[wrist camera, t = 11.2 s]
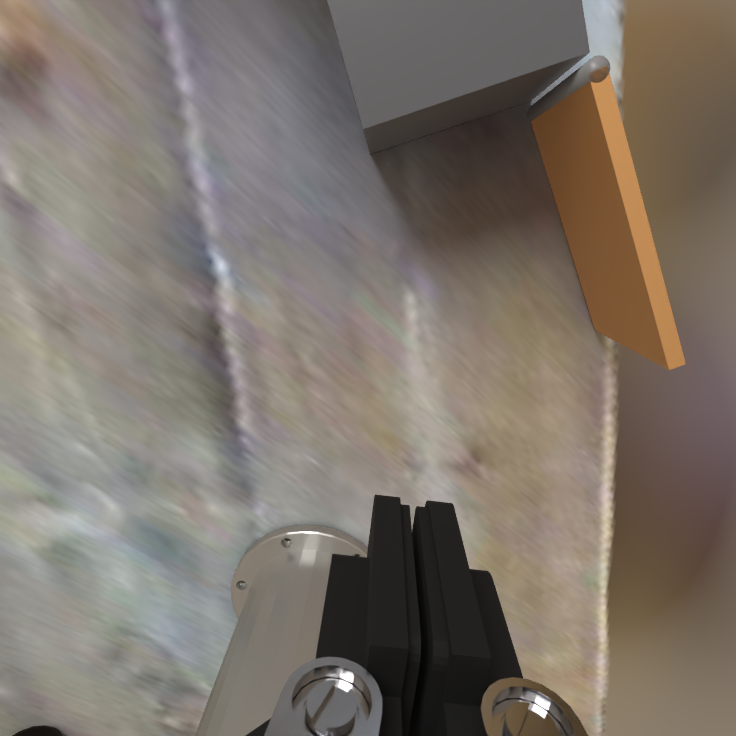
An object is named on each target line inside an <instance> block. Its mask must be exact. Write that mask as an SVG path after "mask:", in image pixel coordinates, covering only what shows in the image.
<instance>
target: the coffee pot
mask: <svg viewBox="0 0 736 736" xmlns="http://www.w3.org/2000/svg"><path fill="white" fill-rule="evenodd" d="M13 736H61V734H60V733H59V732H58V730H57V729H56V728H53V727H49V726H33V727H30V728H28V729H25V730H22V731H20V732H18V733H16V734H15V735H13Z"/></svg>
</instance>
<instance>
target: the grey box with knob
mask: <svg viewBox="0 0 736 736" xmlns="http://www.w3.org/2000/svg"><path fill="white" fill-rule="evenodd" d="M327 2H328V5H329V9H330V13H331V16H332V20H333V23H334V27H335V30H336V34H337V38H338V41H339V45H340V48H341V52H342V56H343V59H344V63H345V66H346V70H347V74H348V77H349V81H350V84H351V88H352V91H353V95H354V99H355V102H356V106H357V109H358V113H359V117H360V120H361V124H362V127H363V131H364V134H365V138H366V142H367V145H368V149H369V152H370V154H373V153H376V152H379V151H382V150H385V149H388V148H391V147H394V146H397V145H400V144H403V143H406V142H409V141H412V140H415V139H418V138H421V137H424V136H427V135H430V134H433V133H436V132H439V131H442V130H445V129H448V128H451V127H454V126H457V125H460V124H463V123H466V122H469V121H472V120H475V119H478V118H481V117H484V116H487V115H490V114H493V113H496V112H499V111H502V110H505V109H508V108H511V107H514V106H517V105H520V104H523V103H526V102H529V101H531V100H532V99H534V98H535V97H536V96H537V95H538V94H540V93H541V92H542V91H543V90H545V89H546V88H547V87H548V86H549V85H551V84H552V83H553V82H554V81H555V80H557V79H558V78H559V77H560V76H562V75H563V74H564V73H565V72H566V71H568V70H569V69H570V68H571V67H572V66H574V65H575V64H576V63H577V62H578V61H580V60H581V59H582V58H583V57H585V56H586V55H587V54H588V53H589V52H590V51H589V44H588V38H587V32H586V25H585V19H584V12H583V6H582V0H327Z"/></svg>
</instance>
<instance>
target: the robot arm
mask: <svg viewBox="0 0 736 736" xmlns="http://www.w3.org/2000/svg"><path fill="white" fill-rule="evenodd" d="M231 598H232V602H233V607H234V611H235V613H236V615H237V617H238V622H237V625H236V627H235V630H234V633H233V635H232V638H231V641H230V643H229V646H228V649H227V651H226V654H225V657H224V659H223V662H222V665H221V667H220V670H219V673H218V675H217V678H216V681H215V684H214V686H213V689H212V692H211V694H210V697H209V700H208V702H207V705H206V708H205V710H204V713H203V716H202V718H201V721H200V724H199V726H198V729H197V732H196V734H195V736H588V734H587V733H586V731H585V729H584V727H583V725H582V723H581V722H580V720H579V718H578V717H577V716H576V714H575V713H574V711H573V710H572V708H571V707H570V706H569V705H568V704H567V703H566V702H565V701H564V700H563V699H562V698H561V697H560V696H559V695H557V694H556V693H555V692H553V691H551V690H550V689H548V688H547V687H545V686H544V685H542V684H539V683H536V682H534V681H531V680H528V679H523V676H522V673H521V669H520V666H519V663H518V660H517V656H516V653H515V650H514V647H513V643H512V640H511V637H510V634H509V631H508V627H507V624H506V621H505V618H504V614H503V611H502V608H501V605H500V601H499V598H498V595H497V592H496V588H495V585H494V582H493V579H492V576H491V574H490V573H489V572H488V571H482V570H473V569H469V565H468V561H467V557H466V553H465V549H464V545H463V541H462V537H461V533H460V529H459V525H458V521H457V517H456V513H455V509H454V506H453V504H452V503H444V502H435V501H427V502H426V504H425V507H419V506H417V507H416V510H415V516H414V523H413V530H412V529H411V518H410V507H409V505H401V504H400V497H391V496H382V495H375V497H374V504H373V512H372V520H371V528H370V536H369V544H368V548H367V547H366V546H365V545H363V544H362V543H361V542H359V541H358V540H357V539H355V538H353V537H351V536H349V535H347V534H345V533H343V532H341V531H338V530H335V529H332V528H328V527H323V526H316V525H296V526H291V527H286V528H281V529H279V530H276V531H273V532H271V533H268V534H267V535H265V536H264V537H262V538H260V539H259V540H257V541H256V542H255V543H254V544H253V545H252V546H251V547H250V548H249V549H248V550H247V551H246V552H245V554H244V555H243V557H242V558H241V560H240V562H239V564H238V567H237V569H236V571H235V573H234V577H233V581H232V595H231Z"/></svg>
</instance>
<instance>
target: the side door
mask: <svg viewBox="0 0 736 736" xmlns="http://www.w3.org/2000/svg"><path fill="white" fill-rule="evenodd" d="M609 71H610V64H609V61H608V60H607V58H605V57H604V56H595V57H593V58H592V59H590V60H589V61H588V62H586V63H585V64H584V65H583V66H581V67H580V68H579V69H578V70H576V71H575V72H574V73H572V74H571V75H570V76H569V77H567V78H566V79H565V80H564V81H562V82H561V83H560V84H559V85H557V86H556V87H555V88H553V89H552V90H551V91H550V92H548V93H547V94H546V95H545V96H543V97H542V98H541V99H539V100H538V101H537V102H536V103H534V104H533V105H532V106H531V107H530V108H529V109H528V112H527V117H528V119H529V120H530V121H531V124H532V127H533V130H534V134H535V137H536V140H537V143H538V147H539V150H540V153H541V156H542V160H543V163H544V166H545V169H546V173H547V176H548V179H549V182H550V186H551V189H552V192H553V195H554V198H555V202H556V205H557V208H558V211H559V215H560V218H561V221H562V224H563V228H564V231H565V234H566V237H567V241H568V244H569V247H570V250H571V254H572V257H573V260H574V263H575V267H576V270H577V273H578V276H579V280H580V283H581V286H582V289H583V293H584V296H585V299H586V302H587V306H588V309H589V312H590V315H591V319H592V322H593V325H594V328H595V330H596V331H598V332H599V333H601V334H603V335H605V336H607V337H609V338H611V339H612V340H614V341H616V342H618V343H620V344H622V345H624V346H625V347H627V348H629V349H631V350H633V351H635V352H637V353H638V354H640V355H642V356H644V357H646V358H648V359H650V360H651V361H653V362H655V363H657V364H659V365H661V366H663V367H665V368H666V369H668V370H670V369H673V368H676V367H678V366H681V365H684V364H685V360H684V356H683V353H682V348H681V344H680V341H679V337H678V333H677V329H676V326H675V322H674V318H673V314H672V310H671V306H670V303H669V299H668V295H667V291H666V287H665V283H664V280H663V276H662V272H661V268H660V264H659V261H658V257H657V253H656V249H655V246H654V242H653V238H652V234H651V230H650V226H649V223H648V219H647V215H646V211H645V208H644V204H643V200H642V196H641V192H640V188H639V184H638V180H637V177H636V173H635V169H634V165H633V161H632V158H631V154H630V150H629V146H628V143H627V139H626V135H625V131H624V127H623V123H622V119H621V116H620V112H619V108H618V104H617V100H616V97H615V93H614V89H613V85H612V81H611V78H610V74H609Z"/></svg>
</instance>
